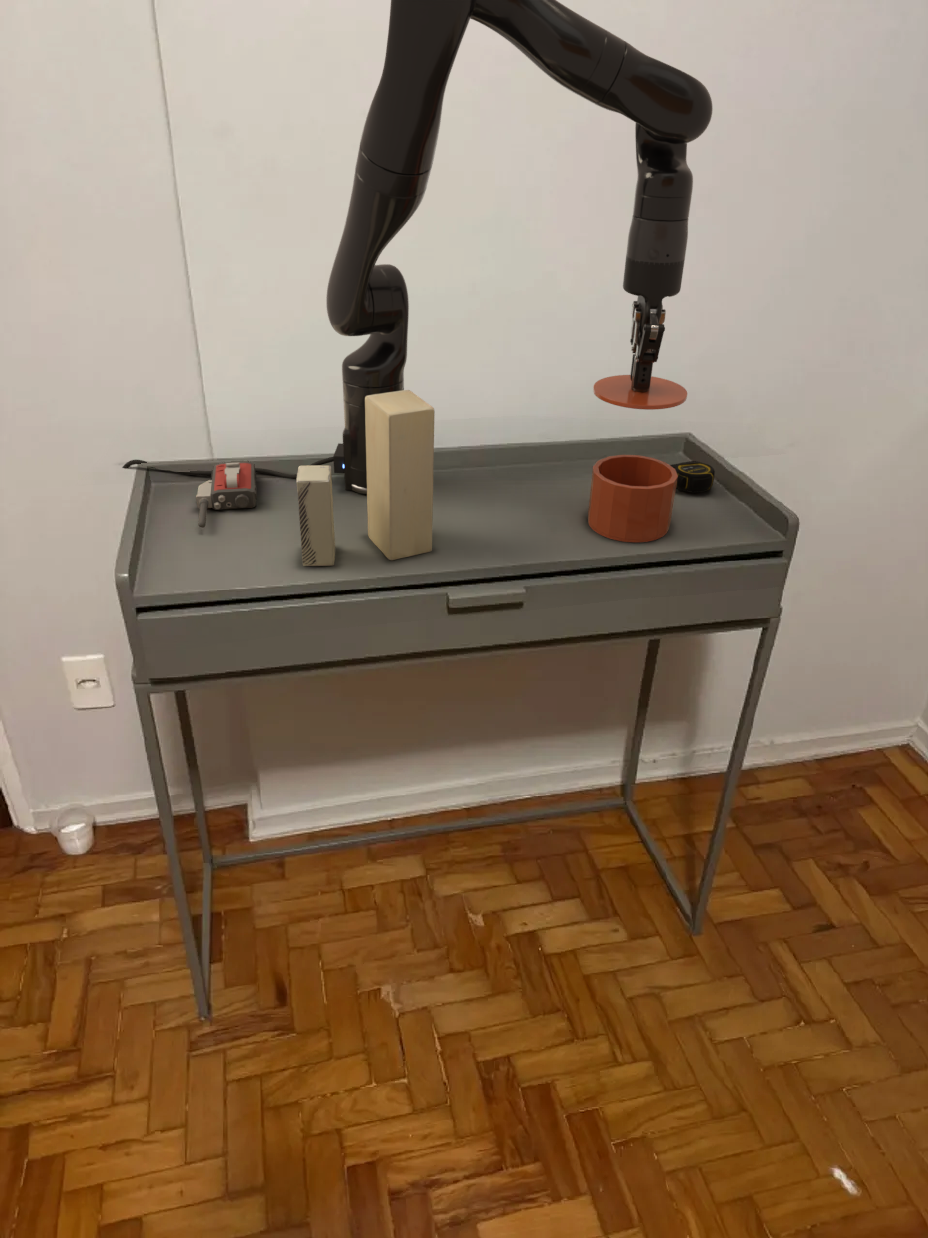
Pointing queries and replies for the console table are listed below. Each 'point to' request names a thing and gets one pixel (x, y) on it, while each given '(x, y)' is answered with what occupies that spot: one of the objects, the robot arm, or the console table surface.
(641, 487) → the pot
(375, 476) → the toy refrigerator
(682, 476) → the tape measure
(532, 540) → the console table surface
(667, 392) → the lid
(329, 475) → the box
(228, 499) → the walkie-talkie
